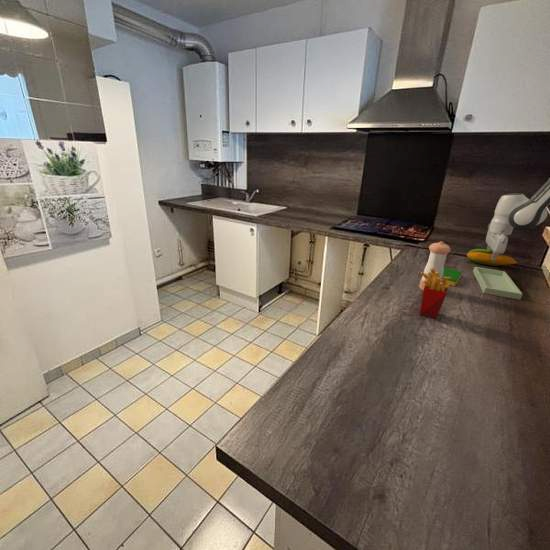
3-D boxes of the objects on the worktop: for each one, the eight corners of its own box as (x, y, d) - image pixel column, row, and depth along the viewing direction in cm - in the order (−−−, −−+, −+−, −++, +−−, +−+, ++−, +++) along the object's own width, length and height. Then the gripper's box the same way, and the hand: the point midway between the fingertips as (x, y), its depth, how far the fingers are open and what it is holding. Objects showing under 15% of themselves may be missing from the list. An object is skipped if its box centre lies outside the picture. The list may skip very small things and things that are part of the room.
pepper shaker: (431, 284, 118) (444, 238, 110) (443, 292, 111) (457, 244, 103) (415, 285, 117) (426, 239, 109) (426, 293, 110) (439, 244, 102)
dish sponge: (460, 276, 126) (462, 271, 125) (454, 286, 116) (456, 281, 116) (442, 272, 130) (444, 267, 130) (435, 281, 121) (436, 276, 120)
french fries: (441, 312, 97) (453, 270, 91) (438, 323, 91) (451, 279, 85) (412, 304, 101) (422, 264, 95) (408, 314, 95) (419, 272, 89)
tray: (472, 271, 132) (474, 266, 131) (503, 276, 128) (505, 271, 127) (483, 293, 112) (485, 287, 111) (520, 299, 107) (522, 294, 106)
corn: (469, 244, 146) (518, 251, 137) (464, 258, 149) (512, 265, 140) (469, 249, 140) (521, 256, 131) (465, 263, 143) (515, 271, 135)
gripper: (515, 235, 125) (504, 265, 130) (503, 225, 142) (493, 252, 147) (498, 232, 127) (487, 262, 132) (487, 223, 144) (478, 249, 150)
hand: (490, 256), depth 140 cm, fingers open, 8 cm apart
